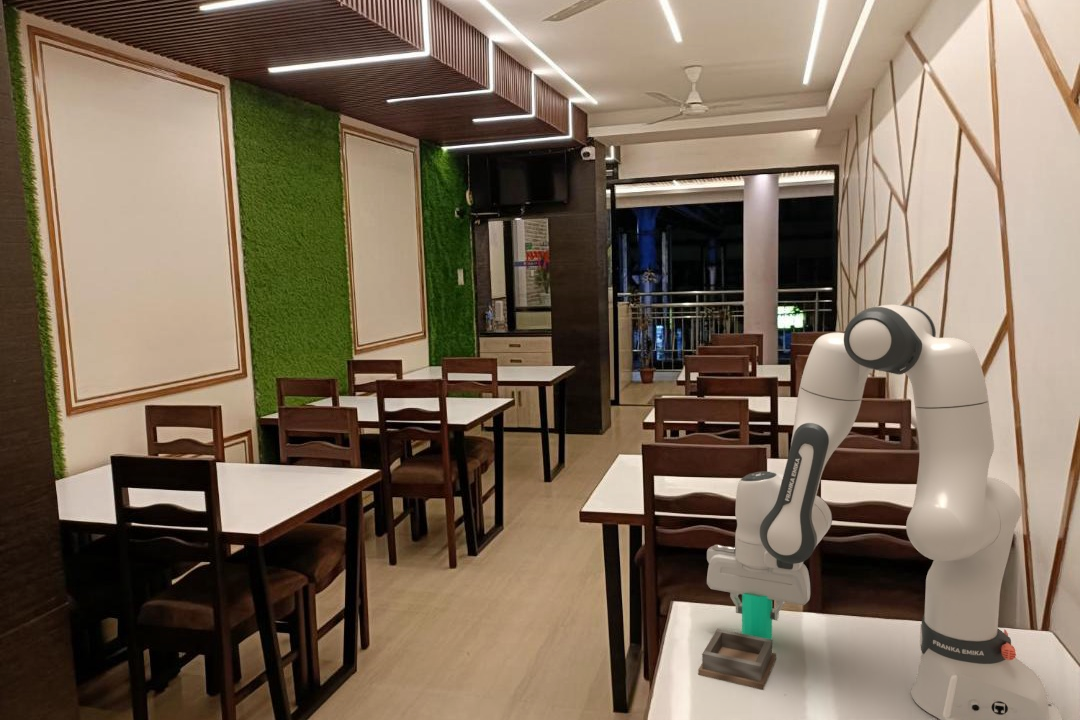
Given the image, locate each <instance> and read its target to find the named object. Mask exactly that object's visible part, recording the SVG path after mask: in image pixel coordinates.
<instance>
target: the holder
mask: <svg viewBox="0 0 1080 720" xmlns="http://www.w3.org/2000/svg"><path fill="white" fill-rule="evenodd" d="M773 648H774V647H773V639H772V640H771V639H766V638H761V637H757V636H752V635H747V634H742V632H741V633H740V632H735V631H732V630H726V629H722V628H717V629H716V630H715V632H714V633H713V635H712V637H711V638H710V640H709V642H708V643H707V645H706V647H705V648H704V650H703V651H702V654H701V655H702V657H701V659H702V662H701V664H700V666H699V667H698V670H697V671H698V673H697V674H698V675H699V676H703V677H707V678H712V679H717V680H721V681H725V682H730V683H734V684H738V685H742V686H747V687H749V688H754V687H755V689H759V690H764V688H765V686H766V684H767V681H768V678H769V676H770V674H771V671H772V669H773V667H774V665H775V662H776V659H777V653H776V652H773Z"/></svg>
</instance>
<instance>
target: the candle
mask: <svg viewBox="0 0 1080 720" xmlns="http://www.w3.org/2000/svg"><path fill="white" fill-rule="evenodd" d="M741 603H742V614H741V633H742V634H747V635H752V636H757V637H761V638H766V639H771V640H773V620H771V619H770V612H771V611H772V608H773V600H771V599H768V598H767V596H760V597H759V596H755V595H750V594H746V593H744V595H742V594H741Z"/></svg>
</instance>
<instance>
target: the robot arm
mask: <svg viewBox="0 0 1080 720" xmlns="http://www.w3.org/2000/svg"><path fill="white" fill-rule="evenodd" d="M936 334H937V332H936V326H935V323H934V321H933V320H932V318H931V317H930V316H929V315H928V313H926V312H925V311H923V310H922V309H920V308H918V307H916V306H913V305H907V304H900V305H899V304H891V303H890V304H883V305H879V306H873V307H868V308H866V309H865V308H864V310H861V311H860V312H858V313H857V314H856V315H855V316H853V317H852V319H850V321H849V322H848V324H847V326H846V327H845V330H844V332H838V331H837V332H830V333H825V334H822V335H820V336H819V337H818V338H816V340H815V342H814V343H813V344H812V348H811V350H810V352H809V354H808V357H807V360H806V363H805V365H804V369H803V373H802V376H801V379H800V384H799V389H798V395H797V399H796V407H795V414H794V422H793V429H792V436H791V442H790V449H789V452H788V457H787V460H786V464H785V469H784V472H783V476H782V478H781V477H780V475H779V474H777V473H776V472H771V471H756V472H752V473H751V472H750V473H748V474H746V475H745V476H743V477H742V478H740V480H738V481H739V482H738V484H737V487H736V488H737V489H736V494H735V518H736V530H735V535H734V536H735V538H734V539H735V540H734V541H735V543H734V544H735V545H734V546H730V545H729V546H728V545H727V546H726V545H725V546H724V545H721V544H714V545H712V546H710V547H708V549H707V551H706V560H707V563H708V568H707V576H706V585H707V586H708V588H710V589H711V590H715V591H721V592H727V593H730V594H729V595H730V596H729V598H730V599H731V600H732V602H733V605H734V606H735V613H736V614H740V615H742V600H740V598H739V595H741V596H742V595H744V593H746V594H750V595H755V596H759V597H760V596H767V598H768V599H771V600H772V601H775V605H776V608H773V607H772V611H771V612H770V619H771V620H772V621H777V622H778V621H779V618H780V611H781V609H782V608H783V607H784V604H785V603H789V604H795V605H799V606H805V605H806V604H807V603H808V602H809V601H810V598H811V581H810V575H809V574H810V573H809V570H808V568H807V566H806V565H805V564H804V562H805V561H807V560H808V559H809V558H810V557H811V556H812V555H813V553H814V550H815V549H816V548H817V546H818V544H819V543H820V542H821V541H822V539H823V538H824V536H825V535H826V534H827V533H828V532H829V530H830V529H831V526H832V523H833V515H832V510H831V508H830V507H829V504H828V503H827V502H826V501H825V500H824V499H823V498H822V497H821V496H819V495H817V494H818V490H819V487H820V483H821V478H822V475H823V472H824V470H825V467H826V465H827V464H828V461H829V459H830V458H831V457H832V455H833V453H834V452H835V451H836V449H838V447H839V446H840V445H841V444H842V442H843V441H844V440H845V439H846V437H847V436H848V435H849V434H850V432H851V431H852V428H853V426H854V424H855V421H856V420H857V416H858V415H859V411H860V408H861V405H862V400H863V395H864V391H865V386H866V383H867V379H868V377H869V375H870V373H871V372H872V371H873V370H874V371H879V372H884V373H890V374H894V375H898V376H899V375H903V374H905V375H906V376H907V377H908V379H909V381H910V383H911V387H912V394H913V402H914V409H915V418H916V419H915V421H916V426H917V427H916V428H917V437H918V445H919V449H918V450H919V456H918V457H919V459H918V460H919V461H918V462H919V463H918V471H917V477H916V478H917V479H916V480H917V481H916V488H915V495H914V501H913V503H912V504H913V505H912V508H911V509H910V512H909V514H908V515H907V520H906V524H905V525H906V526H905V528H906V535H907V537H908V540H909V541H910V543H911V544H912V546H913V548H914V549H916V550H917V551H918V553H920V554H921V555H922V556H924V557H925V558H928V559H929V560H931V561H932V560H933V561H932V564H931V566H930V567H929V569H928V571H927V575H926V579H925V594H924V595H925V596H924V597H925V599H924V615H923V617H922V619H921V624H920V632H919V647H920V651H921V654H920V660H919V665H918V669H917V673H916V676H915V680H914V682H913V684H912V686H911V689H910V695H911V697H912V699H913V701H914V702H915V704H917V705H918V706H919V707H920V709H922V710H923V711H926V713H928V714H930V715H931V716H934V717H935V718H937V719H938V720H1063V716H1062V714H1061V712H1060V710H1059V708H1058V707H1057V706H1056V704H1055V703H1054V702H1052V700H1051V699H1050V698H1048V695H1047V692H1046V688H1045V686H1044V684H1043V682H1042V680H1041V678H1040V677H1039V675H1038V674H1037V673H1036V672H1035V671H1034V670H1033V669H1031V668H1030V667H1029V666H1027V664H1024V663H1023V662H1022V661H1021V660H1020V659H1018V657H1017V654H1016V648H1015V647H1014V646H1013V645H1012V640H1011V637H1010V636H1009V633H1008V632H1007V630H1006V629H1004V631H1002V630H1001V629H999V628H998V627H999V613H1000V596H1001V595H1000V594H1001V589H1002V588H1001V587H1002V583H1003V579H1004V574H1005V571H1006V566H1007V563H1008V559H1009V555H1010V552H1011V547H1012V542H1013V539H1014V535H1015V534H1014V533H1015V530H1016V527H1017V524H1018V523H1019V520H1020V517H1021V516H1022V510H1023V509H1022V502H1021V499H1020V496H1019V495H1018V493H1017V491H1016V490H1015V489H1014V488H1013V487H1012V486H1011V485H1010V484H1009V483H1007V482H1005V481H1004V480H1002V479H999V478H996V477H988V474H989V467H990V462H991V460H992V456H993V454H994V449H995V442H994V441H995V440H994V432H993V427H992V417H991V410H990V401H989V394H988V389H987V384H986V378H985V376H984V371H983V368H982V365H981V362H980V359H979V356H978V354H977V351H976V349H975V348H974V346H973V345H972V344H971V343H969V342H968V341H966V340H963V339H962V338H961V339H960V338H957V337H948V336H947V337H946V336H945V337H936Z"/></svg>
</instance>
